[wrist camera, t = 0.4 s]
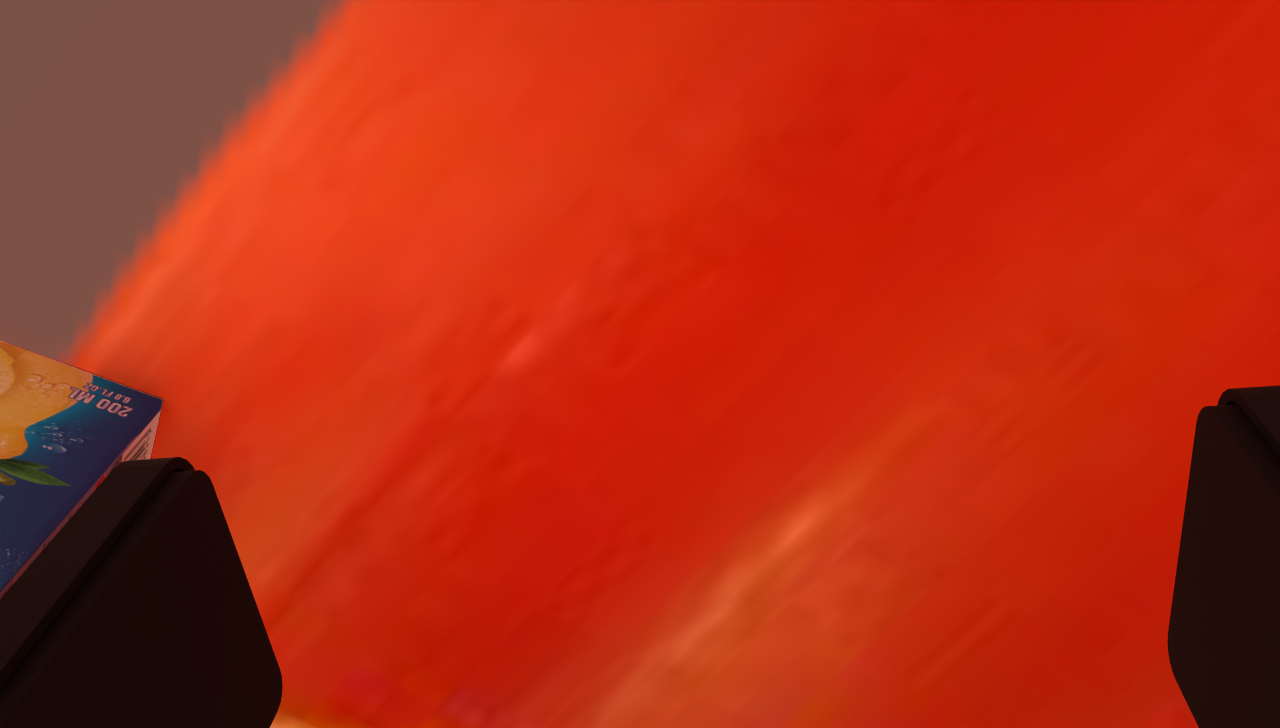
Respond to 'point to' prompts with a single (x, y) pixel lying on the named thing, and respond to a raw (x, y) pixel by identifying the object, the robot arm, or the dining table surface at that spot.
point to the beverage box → (59, 447)
